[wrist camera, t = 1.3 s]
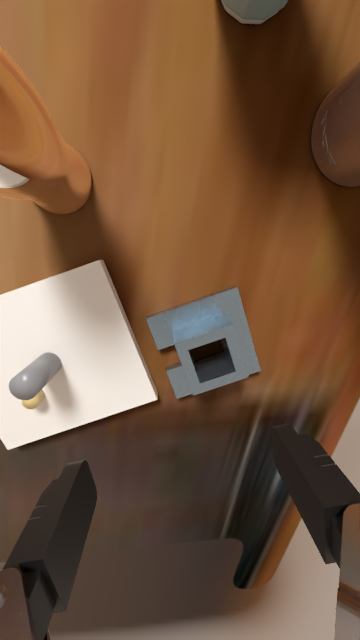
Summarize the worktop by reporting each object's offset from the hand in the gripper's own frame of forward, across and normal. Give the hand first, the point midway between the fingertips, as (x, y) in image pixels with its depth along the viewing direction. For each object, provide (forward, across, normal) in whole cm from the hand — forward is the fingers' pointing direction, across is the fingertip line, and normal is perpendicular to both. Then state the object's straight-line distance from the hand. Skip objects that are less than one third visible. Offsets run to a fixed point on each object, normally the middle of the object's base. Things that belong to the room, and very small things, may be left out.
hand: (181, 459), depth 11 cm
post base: (+18, +13, 0) cm, 22 cm away
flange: (+18, -3, +2) cm, 18 cm away
